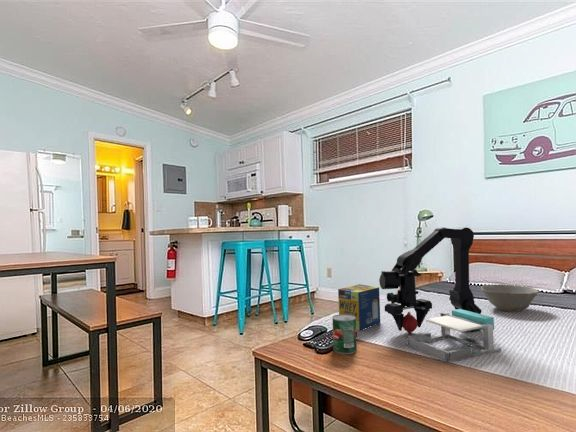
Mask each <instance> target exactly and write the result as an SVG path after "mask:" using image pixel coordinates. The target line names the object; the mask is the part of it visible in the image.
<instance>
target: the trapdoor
mask: <svg viewBox="0 0 576 432" xmlns="http://www.w3.org/2000/svg"><path fill="white" fill-rule="evenodd" d="M494 319H495V318H494V317H493V316H490V315H485V314H482V313H481V314H478V313H474V312H470V311H466V310H462V309H456V310H455V309H452V310H451V314H450V313H449V314H447V315H446V316H441V315H440V316H435V317H431V318H427V319H425V322H426V323H427V322H428V323H431V324H433V325H437V326H440V327H441V326H443V327H446V328H449V329H450V330H453V331H454V332H455V331H456V332H457V333H458V332H459V333H462V332H468V330H473V329H480V330H479V331H483V327H482V325H483V324H491V325H493V331H494V330H495V321H494Z"/></svg>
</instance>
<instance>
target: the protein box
mask: <svg viewBox="0 0 576 432" xmlns="http://www.w3.org/2000/svg"><path fill="white" fill-rule="evenodd" d="M337 292H338V293H337V294H338V296H337V297H338V315H339V314H348V315H353V316H355V317H356V332H361V330H362V331H364V330H366V329H365V328H367V329H369V328H371V327H370V326H372V327H374V326H373V325H375V324H377V325H379V324H378V323H380V324H381V302H380V299H381V298H380V287H379V286H378V287H377V286H374V285H366V284H356V285H351V286H348V287H343V288H338V290H337ZM375 326H376V325H375ZM368 327H369V328H368ZM363 329H364V330H363Z"/></svg>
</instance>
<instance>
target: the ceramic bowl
mask: <svg viewBox="0 0 576 432" xmlns="http://www.w3.org/2000/svg"><path fill="white" fill-rule="evenodd" d="M480 289H481V291H482V292H483V293H484V296H485V298H486V300H487V301H488V302H489V303H490V304H491V305H493V307H495V308H496V309H498V310H500V311H502V312H508V313H512V312H515V313H517V312H522V311H525V310H526V309H528V308H529V307H530V306H531V303H532V302H533V300H534V299H535V298H536V296H537V295H538V294H539V293H540V290H539V289H537V288H535V287H530V286H524V285H516V284H515V285H513V284H486V285H482V286H480Z"/></svg>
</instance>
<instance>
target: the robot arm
mask: <svg viewBox="0 0 576 432" xmlns="http://www.w3.org/2000/svg"><path fill="white" fill-rule="evenodd" d="M474 237H475V233H474V230H472V229H471V227H454V228H447V227H436V228H435V229H434V230H433V231H432V232H431V233H430V234H429V235H428V236H427V237H426V238H424V239H423V240H422V241H421V242H420V243H418V244H417V245H416V246H415V247H414V248H412V249H411V250H408V251H406V252H403V253H402V254H401V255H399V256H397V259H396V263H395V264H394V266H393V268H392V269H391V270H390V271H388V270H387V271H386V270H382V271H381V272H380V275H379V280H378V281H379V286H380V287H379V288H380V289H382V290H394V289H395V290H397V293H396V294H395V293H393V292H388V293H386V300H387V302H391V303H386V304H385V305H384V312H386V313H388V314H389V315H391V316H392V319H394V322H395V324H396V327H397V329H398V331H400V332H402V330H403V327H402V326H403V317H404V316H405V315H404V314H403V312H404V311H405V310H410V309H414V312H415V314H416V315H415V319H416V320H417V324H418V325H417V328H421V326H422V324H423V322H424V320H425V318H426V317H427V315H428V312H430V311H431V310H432V309H433V303H432V301H431V300H427V299H424V298H417V295H418V294H419V291H418V290H417V288H416V287H417V286H416V285H417V284H416V277H421V276H422V275H421V273H419V272H418V271H417V268H418V266H419V265H420V264H421V263H422V259H423V258H424V256H425V255H427V254H428V253H429V252H431V251H432V249H434V248H435V247H436V246H437V245H439V244H440V243H441V242H442V241H443V240H444V239H450V243H451V244H452V247H453V249H454V271H455V273H454V274H455V275H454V276H455V278H454V279H455V280H454V285H455V286H454V288H453V289H452V290H451V289H449V298H448V300H449V301H450V304H451V305H452V306H453V307H454V310H456V309H462V310H466V311H470V312H474V313H478V314H482V312H483V310H482V309H481V308H480V307H479V306H478V305H477V304H476V303H475V298H474V294H473V292H472V290H471V288H470V257H469V256H470V249H471V247H472V245H473V242H474ZM398 288H399V289H398ZM476 331H477V332H478V331H481V330H480V329H473V330H468V331H467V332H469V333H473V332H476Z"/></svg>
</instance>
